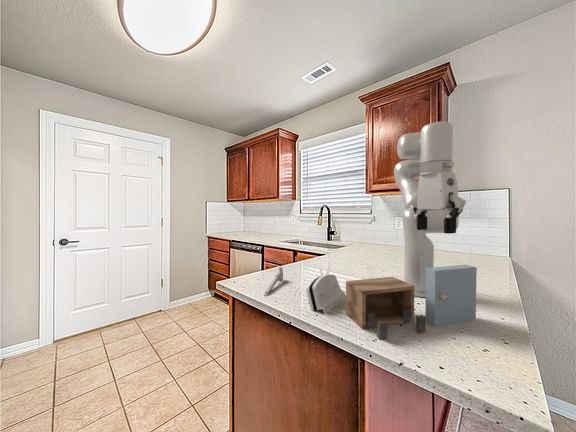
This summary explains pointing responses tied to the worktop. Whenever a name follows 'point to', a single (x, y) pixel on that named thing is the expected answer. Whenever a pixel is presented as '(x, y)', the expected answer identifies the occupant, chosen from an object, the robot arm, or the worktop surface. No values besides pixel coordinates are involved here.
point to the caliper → (278, 278)
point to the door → (450, 295)
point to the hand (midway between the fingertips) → (434, 231)
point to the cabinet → (381, 304)
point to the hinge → (324, 293)
